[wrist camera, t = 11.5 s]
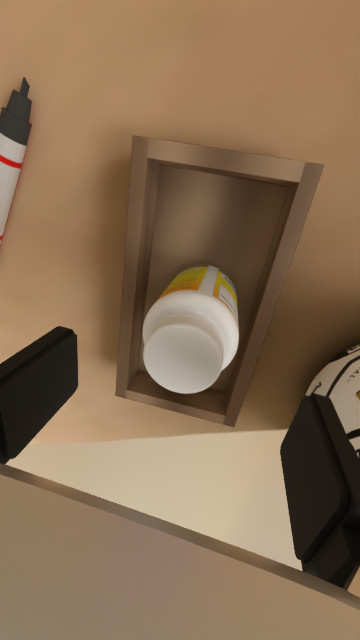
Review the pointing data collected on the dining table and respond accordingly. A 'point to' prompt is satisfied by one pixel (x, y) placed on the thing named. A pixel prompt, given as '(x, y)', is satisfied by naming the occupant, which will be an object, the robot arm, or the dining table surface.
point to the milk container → (343, 390)
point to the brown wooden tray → (208, 253)
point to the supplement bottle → (192, 330)
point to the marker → (12, 147)
